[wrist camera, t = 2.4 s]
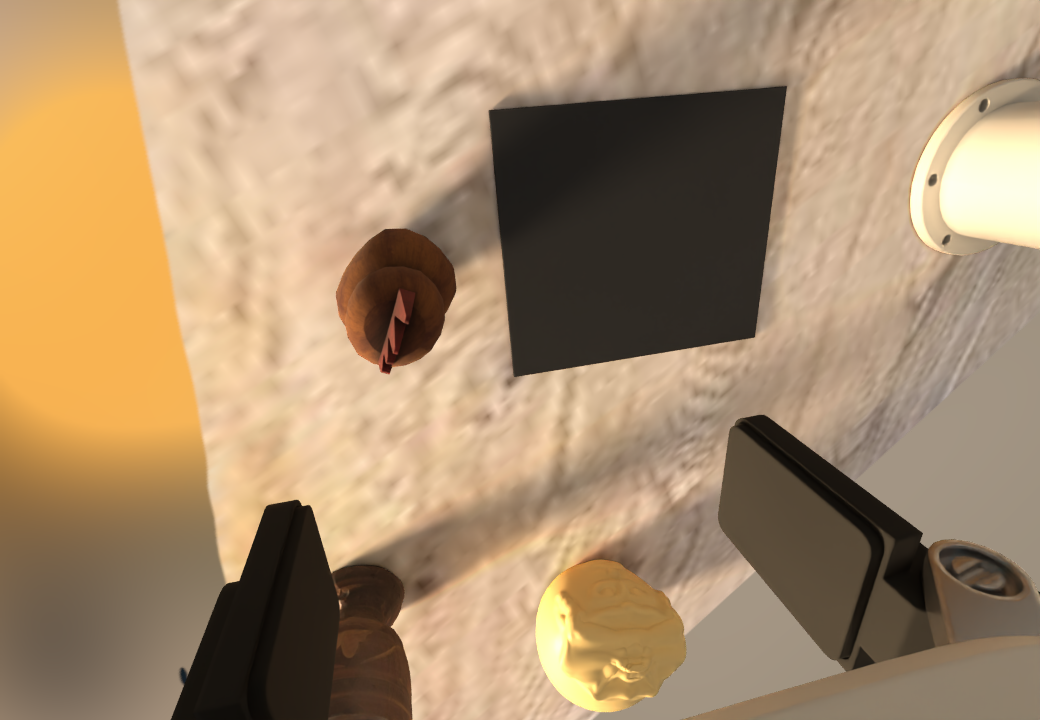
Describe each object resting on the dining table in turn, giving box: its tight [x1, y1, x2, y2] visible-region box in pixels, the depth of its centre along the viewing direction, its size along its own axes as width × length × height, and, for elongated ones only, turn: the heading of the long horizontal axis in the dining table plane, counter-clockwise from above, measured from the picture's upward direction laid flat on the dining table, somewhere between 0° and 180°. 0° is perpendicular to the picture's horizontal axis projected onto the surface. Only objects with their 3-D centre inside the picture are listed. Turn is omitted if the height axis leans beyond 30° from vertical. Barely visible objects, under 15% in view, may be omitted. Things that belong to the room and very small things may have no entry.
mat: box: [489, 86, 787, 377], centre depth 36 cm, size 20×18×1 cm
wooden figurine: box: [336, 229, 456, 374], centre depth 26 cm, size 7×6×15 cm
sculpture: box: [536, 559, 686, 712], centre depth 44 cm, size 11×12×11 cm
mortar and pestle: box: [328, 566, 412, 720], centre depth 34 cm, size 12×9×20 cm
